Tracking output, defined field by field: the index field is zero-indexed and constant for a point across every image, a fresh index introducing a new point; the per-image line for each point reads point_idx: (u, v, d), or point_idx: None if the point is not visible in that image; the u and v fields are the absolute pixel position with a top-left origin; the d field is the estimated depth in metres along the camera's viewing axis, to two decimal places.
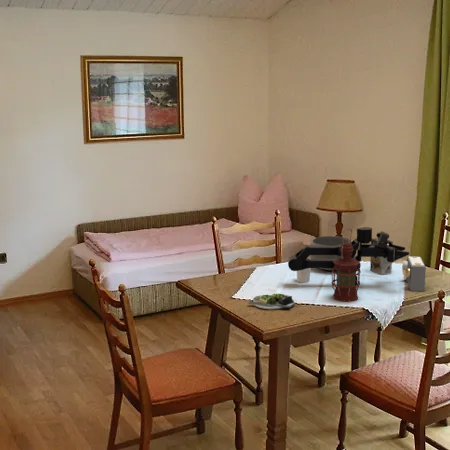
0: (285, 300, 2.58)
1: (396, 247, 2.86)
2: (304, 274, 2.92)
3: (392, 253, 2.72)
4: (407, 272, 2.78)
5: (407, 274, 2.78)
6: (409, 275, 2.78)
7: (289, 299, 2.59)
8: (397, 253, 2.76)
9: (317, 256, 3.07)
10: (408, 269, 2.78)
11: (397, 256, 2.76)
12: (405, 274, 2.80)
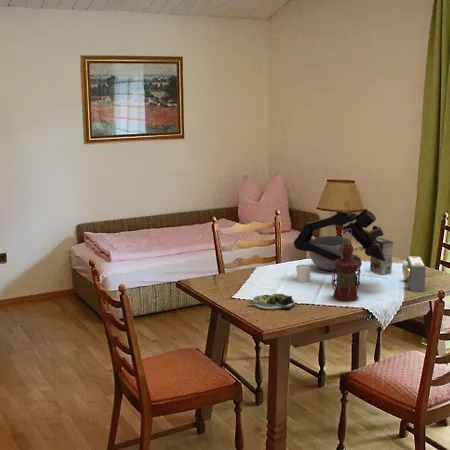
0: (285, 300, 2.58)
1: None
2: (304, 274, 2.92)
3: (374, 249, 2.71)
4: (407, 272, 2.78)
5: (407, 274, 2.78)
6: (409, 275, 2.78)
7: (289, 299, 2.59)
8: (376, 252, 2.76)
9: (317, 256, 3.07)
10: (408, 269, 2.78)
11: (374, 254, 2.76)
12: (405, 274, 2.80)
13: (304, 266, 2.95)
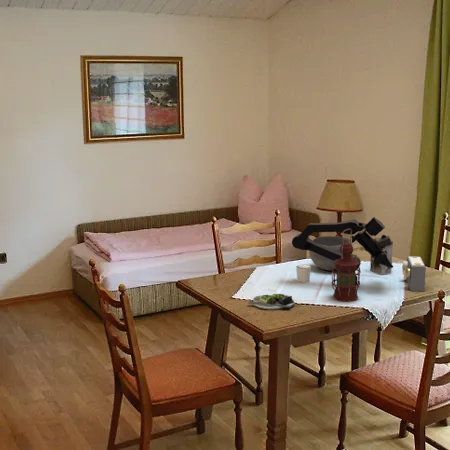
0: (285, 300, 2.58)
1: None
2: (304, 274, 2.92)
3: (382, 258, 2.71)
4: (407, 272, 2.78)
5: (407, 274, 2.78)
6: (409, 275, 2.78)
7: (289, 299, 2.59)
8: (384, 259, 2.79)
9: (317, 256, 3.07)
10: (408, 269, 2.78)
11: (382, 261, 2.79)
12: (405, 274, 2.80)
13: (304, 266, 2.95)
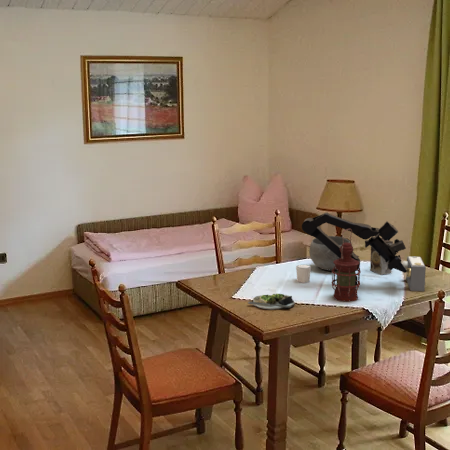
0: (285, 300, 2.58)
1: None
2: (304, 274, 2.92)
3: (397, 263, 2.70)
4: (408, 272, 2.78)
5: (408, 274, 2.78)
6: (410, 275, 2.78)
7: (289, 299, 2.59)
8: (398, 264, 2.78)
9: (317, 256, 3.07)
10: (409, 269, 2.78)
11: (396, 266, 2.78)
12: (406, 274, 2.80)
13: (304, 266, 2.95)
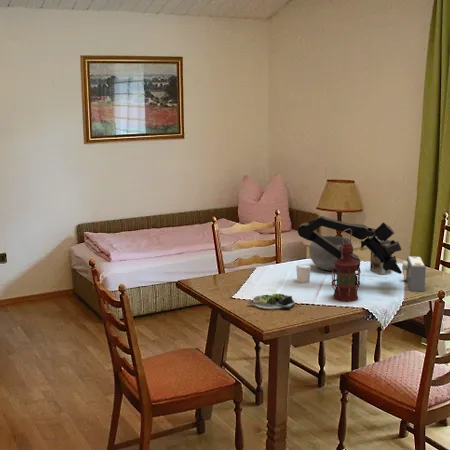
0: (285, 300, 2.58)
1: None
2: (304, 274, 2.92)
3: (392, 264, 2.71)
4: None
5: None
6: None
7: (289, 299, 2.59)
8: (393, 265, 2.79)
9: (317, 256, 3.07)
10: None
11: (391, 267, 2.79)
12: (409, 274, 2.80)
13: (304, 266, 2.95)
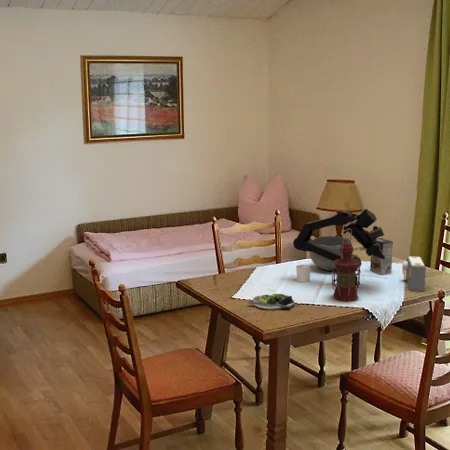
0: (285, 300, 2.58)
1: None
2: (304, 274, 2.92)
3: (375, 249, 2.71)
4: None
5: None
6: None
7: (289, 299, 2.59)
8: (376, 250, 2.79)
9: (317, 256, 3.07)
10: None
11: (374, 252, 2.79)
12: (409, 274, 2.80)
13: (304, 266, 2.95)
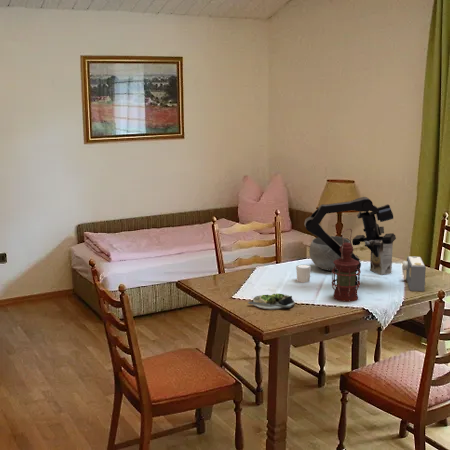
0: (285, 300, 2.58)
1: None
2: (304, 274, 2.92)
3: (394, 238, 2.78)
4: None
5: None
6: None
7: (289, 299, 2.59)
8: (378, 245, 2.83)
9: (317, 256, 3.07)
10: None
11: (377, 247, 2.82)
12: (409, 274, 2.80)
13: (304, 266, 2.95)
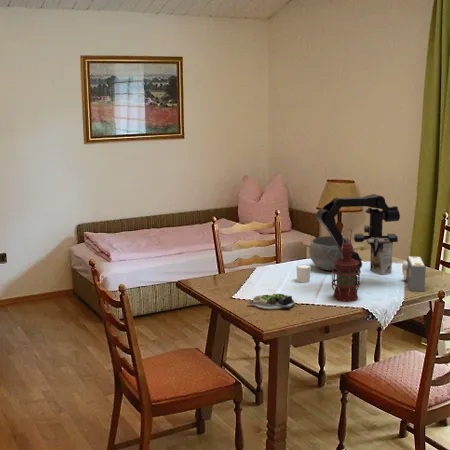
0: (285, 300, 2.58)
1: None
2: (304, 274, 2.92)
3: None
4: None
5: None
6: None
7: (289, 299, 2.59)
8: None
9: (317, 256, 3.07)
10: None
11: None
12: (409, 274, 2.80)
13: (304, 266, 2.95)
